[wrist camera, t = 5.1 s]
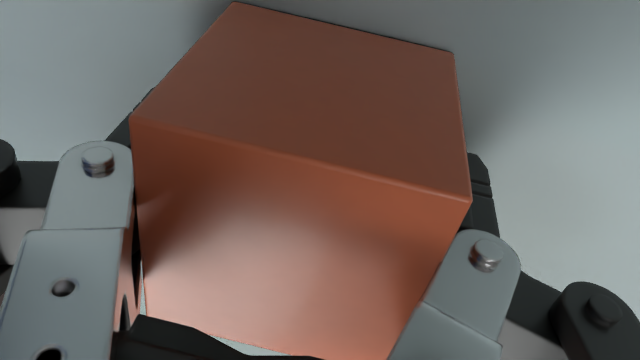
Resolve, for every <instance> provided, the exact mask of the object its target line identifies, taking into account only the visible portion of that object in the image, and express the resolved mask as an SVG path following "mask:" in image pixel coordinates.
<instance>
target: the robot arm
mask: <svg viewBox="0 0 640 360" xmlns="http://www.w3.org/2000/svg"><path fill="white" fill-rule="evenodd" d="M154 88H155V87H154ZM154 88H152V89H151V90H150V91H149V92H148V93H147V95H146V96H145V97H144V98H143V99H142V101H143V100H144V99H145V98H146V97H147V96H148V95H149V94H150V93H151V91H152V90H153V89H154ZM142 101H141V102H142ZM141 102H139V103H138V104H137V106H136V107H135V108H134V109H133V111H134V110H135V109H136V108H137V107H138V106H139V105H140V104H141ZM131 114H132V112H130V113H129V114H128V115H127V117H126V118H125V119H124V120H123V121H122V122H121V123H120V124H119V125H118V126H117V128H116V129H115V130H114V131H113V132H112V133H111V134H110V135H109V136H108V138H107V139H106V140H105V141H92V142H87V143H83V144H80V145H77V146H75V147H73V148H71V149H70V150H68V151H67V152H66V153H65V154H64V155H63V156H62V157H61V159H60V161H52V162H50V161H17V158H16V155H15V151H14V149H13V147H12V146H11V145H10V144H9V143H8V142H6V141H4V140H1V139H0V296H1V295H2V294H3V293H4V292H5V291H6V292H5V296H4V299H3V302H2V305H1V308H0V360H325V359H321V358H317V357H313V356H251V355H246V354H243V353H241V352H239V351H237V350H235V349H233V348H231V347H230V346H228V345H226V344H224V343H222V342H220V341H218V340H216V339H215V338H213V337H211V336H209V335H207V334H205V333H203V332H201V331H199V330H198V329H196V328H194V327H190V326H186V325H182V324H178V323H174V322H170V321H166V320H162V319H158V318H154V317H149V316H145V315H141V314H140V303H141V288H142V262H141V251H140V240H139V229H138V218H137V207H136V196H135V186H134V175H133V164H132V153H131V142H130V131H129V117H130V115H131ZM467 158H468V166H469V174H470V181H471V189H472V197H473V201H472V203H471V205H470V207H469V209H468V211H467V213H466V215H465V217H464V219H463V221H462V223H461V225H460V227H459V229H458V231H457V233H456V235H455V237H454V239H453V241H452V242H451V244H450V246H449V248H448V250H447V252H446V254H445V256H444V258H443V260H442V262H440V263H439V264H438V266H437V268H436V270H435V272H434V274H433V276H432V277H431V279H430V281H429V283H428V285H427V287H426V288H425V290H424V292H423V294H422V296H421V298H419V300H418V302H417V304H416V305H415V307H414V309H413V311H412V313H411V315H410V317H409V318H408V320H407V322H406V324H405V326H404V328H403V329H402V331H401V333H400V335H399V337H398V339H397V340H396V342H395V344H394V346H393V348H392V350H391V352H390V353H389V355H388V357H387V359H386V360H640V322H639V320H638V319H637V317H636V316H635V314H634V313H633V311H632V310H631V309H630V308H629V306H628V305H627V304H626V303H625V302H624V301H623V300H622V299H620V298H619V297H618V296H617V295H615V294H614V293H612V292H611V291H609V290H607V289H605V288H603V287H601V286H599V285H596V284H593V283H589V282H574V283H571V284H569V285H568V286H567V287H566V288H565V289H564V290H563V292H560V291H558V290H556V289H554V288H552V287H550V286H548V285H546V284H544V283H542V282H540V281H538V280H536V279H534V278H532V277H530V276H528V275H527V274H525V273H524V272H522V271H521V264H520V260H519V258H518V256H517V254H516V253H515V251H514V250H513V249H512V248H511V247H510V246H509V245H508V244H507V243H506V242H505V241H503V240H502V239H500V234H499V229H498V223H497V218H496V212H495V207H494V201H493V199H492V190H491V187H490V179H489V174H488V169H487V168H486V166H485V165H484V164H483V162H482V161H481V159H480V158H479V157H478V155H476V154H472V153H468V152H467Z"/></svg>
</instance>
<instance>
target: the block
mask: <svg viewBox="0 0 640 360" xmlns="http://www.w3.org/2000/svg"><path fill="white" fill-rule="evenodd" d="M129 131H130V142H131V153H132V164H133V175H134V186H135V196H136V207H137V218H138V229H139V240H140V251H141V262H142V273H143V284H144V295H145V305H146V316H149V317H154V318H158V319H162V320H166V321H170V322H174V323H178V324H182V325H186V326H190V327H194V328H196V329H198V330H199V331H201V332H203V333H205V334H208V335H212V336H216V337H220V338H224V339H228V340H233V341H237V342H241V343H245V344H249V345H253V346H257V347H261V348H265V349H269V350H273V351H277V352H281V353H285V354H289V355H293V356H313V357H317V358H321V359H325V360H386V359H387V357H388V355H389V353H390V352H391V350H392V348H393V346H394V344H395V342H396V340H397V339H398V337H399V335H400V333H401V331H402V329H403V328H404V326H405V324H406V322H407V320H408V318H409V317H410V315H411V313H412V311H413V309H414V307H415V305H416V304H417V302H418V300H419V298H421V296H422V294H423V292H424V290H425V288H426V287H427V285H428V283H429V281H430V279H431V277H432V276H433V274H434V272H435V270H436V268H437V266H438V264H439V263H440V262H442V260H443V258H444V256H445V254H446V252H447V250H448V248H449V246H450V244H451V242H452V241H453V239H454V237H455V235H456V233H457V231H458V229H459V227H460V225H461V223H462V221H463V219H464V217H465V215H466V213H467V211H468V209H469V207H470V205H471V203H472V201H473V197H472V189H471V181H470V174H469V166H468V158H467V151H466V143H465V135H464V128H463V120H462V112H461V105H460V97H459V89H458V82H457V74H456V66H455V59H454V54H453V53H450V52H446V51H442V50H438V49H434V48H429V47H425V46H421V45H417V44H412V43H408V42H404V41H400V40H396V39H391V38H387V37H383V36H379V35H374V34H370V33H366V32H362V31H358V30H353V29H349V28H345V27H341V26H336V25H332V24H328V23H324V22H320V21H315V20H311V19H307V18H303V17H298V16H294V15H290V14H286V13H282V12H277V11H273V10H269V9H265V8H260V7H256V6H252V5H248V4H244V3H239V2H232V3H231V4H230V5H229V6H228V7H227V8H226V10H225V11H224V12H223V13H222V14H221V15H220V16H219V17H218V18H217V20H216V21H215V22H214V23H213V24H212V25H211V26H210V27H209V28H208V29H207V31H206V32H205V33H204V34H203V35H202V36H201V37H200V38H199V39H198V41H197V42H196V43H195V44H194V45H193V46H192V47H191V48H190V49H189V50H188V52H187V53H186V54H185V55H184V56H183V57H182V58H181V59H180V60H179V62H178V63H177V64H176V65H175V66H174V67H173V68H172V69H171V70H170V71H169V73H168V74H167V75H166V76H165V77H164V78H163V79H162V80H161V81H160V83H159V84H158V85H157V86H156V87H155V88H154V89H153V90H152V91H151V93H150V94H149V95H148V96H147V97H146V98H145V99H144V100H143V101H142V102H141V104H140V105H139V106H138V107H137V108H136V109H135V110H134V111H133V112H132V114H131V115H130V117H129Z"/></svg>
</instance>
